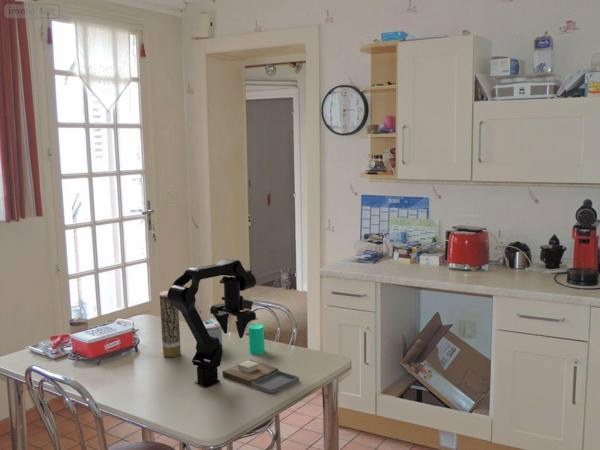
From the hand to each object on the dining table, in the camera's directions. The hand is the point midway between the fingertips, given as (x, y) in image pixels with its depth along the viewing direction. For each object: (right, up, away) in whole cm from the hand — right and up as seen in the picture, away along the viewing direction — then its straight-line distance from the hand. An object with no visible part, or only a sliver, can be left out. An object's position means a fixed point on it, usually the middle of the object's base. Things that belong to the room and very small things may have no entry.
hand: (233, 335), depth 227 cm
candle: (+7, -10, +20) cm, 23 cm away
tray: (+16, -15, -12) cm, 24 cm away
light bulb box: (-11, -10, +24) cm, 28 cm away
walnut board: (+6, -13, -4) cm, 15 cm away
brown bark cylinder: (-26, -11, +18) cm, 34 cm away
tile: (+6, -11, -3) cm, 13 cm away
